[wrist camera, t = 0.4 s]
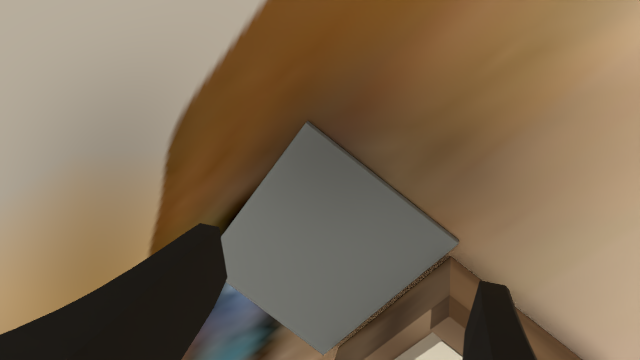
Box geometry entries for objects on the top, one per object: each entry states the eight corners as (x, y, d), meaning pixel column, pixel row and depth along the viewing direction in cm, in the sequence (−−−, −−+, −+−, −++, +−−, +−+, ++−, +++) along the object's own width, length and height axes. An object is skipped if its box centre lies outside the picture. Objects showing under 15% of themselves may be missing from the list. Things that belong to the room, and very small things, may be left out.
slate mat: (324, 351, 28) (323, 355, 28) (203, 260, 28) (201, 263, 27) (458, 240, 22) (458, 243, 22) (307, 120, 22) (305, 122, 21)
